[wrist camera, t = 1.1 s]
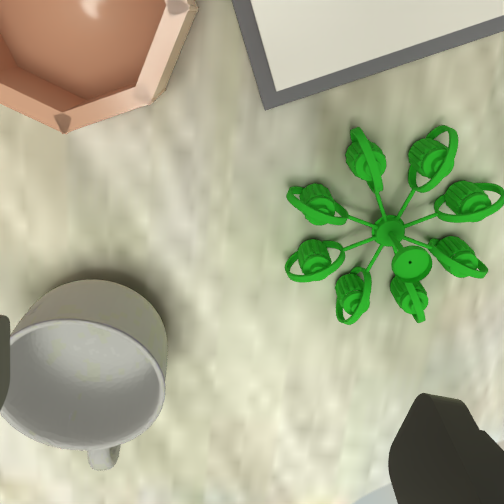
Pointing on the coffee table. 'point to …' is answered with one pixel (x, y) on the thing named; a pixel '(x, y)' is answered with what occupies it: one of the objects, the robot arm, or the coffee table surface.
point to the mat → (349, 74)
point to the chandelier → (394, 226)
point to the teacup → (87, 369)
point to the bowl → (88, 56)
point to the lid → (354, 31)
